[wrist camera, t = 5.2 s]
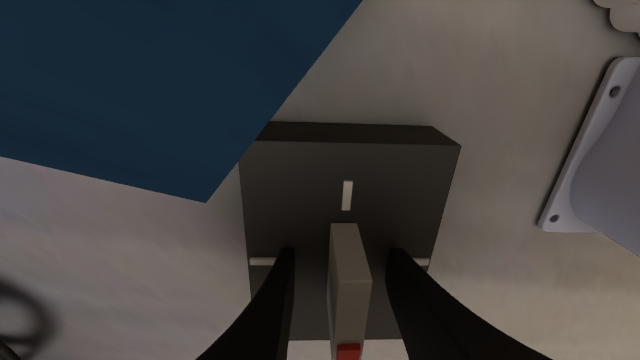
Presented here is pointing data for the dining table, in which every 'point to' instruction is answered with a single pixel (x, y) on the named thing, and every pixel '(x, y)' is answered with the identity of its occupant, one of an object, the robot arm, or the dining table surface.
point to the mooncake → (623, 14)
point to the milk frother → (7, 352)
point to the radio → (152, 83)
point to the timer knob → (347, 291)
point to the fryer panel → (342, 206)
